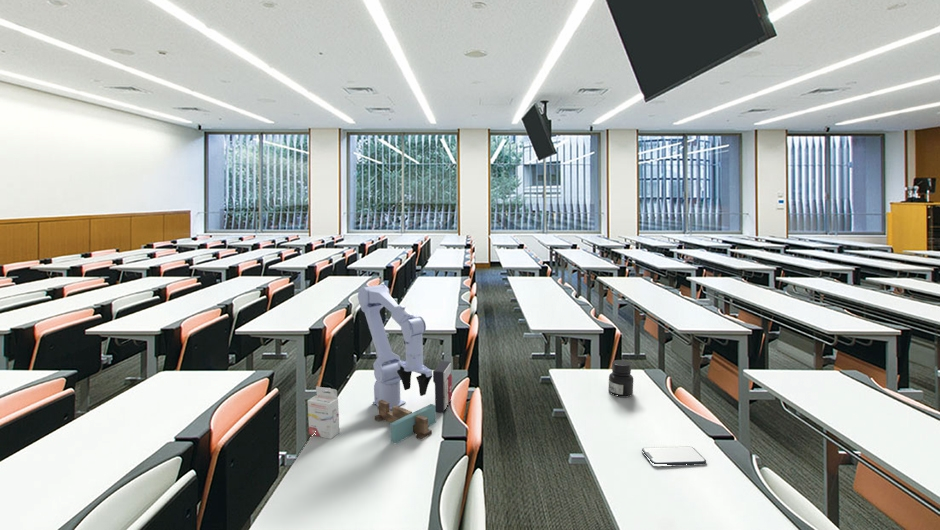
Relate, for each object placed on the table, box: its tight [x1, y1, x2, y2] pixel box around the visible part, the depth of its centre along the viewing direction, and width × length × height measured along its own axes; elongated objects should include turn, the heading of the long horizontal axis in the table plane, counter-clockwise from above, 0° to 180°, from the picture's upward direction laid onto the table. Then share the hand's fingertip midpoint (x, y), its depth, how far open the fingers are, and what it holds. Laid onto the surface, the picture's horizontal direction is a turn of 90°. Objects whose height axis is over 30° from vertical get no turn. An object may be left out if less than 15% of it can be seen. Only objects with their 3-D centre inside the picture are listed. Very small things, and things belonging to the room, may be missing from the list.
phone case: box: [641, 446, 707, 466], centre depth 143 cm, size 9×2×16 cm
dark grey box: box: [432, 360, 453, 413], centre depth 176 cm, size 11×4×15 cm, turn 168°
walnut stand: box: [374, 400, 433, 441], centre depth 162 cm, size 22×5×6 cm, turn 51°
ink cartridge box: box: [307, 385, 340, 440], centre depth 157 cm, size 9×5×15 cm, turn 71°
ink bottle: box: [607, 359, 634, 397], centre depth 187 cm, size 10×9×12 cm
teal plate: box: [389, 403, 437, 444], centre depth 158 cm, size 18×2×6 cm, turn 140°
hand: (415, 391), depth 167 cm, fingers open, 7 cm apart
